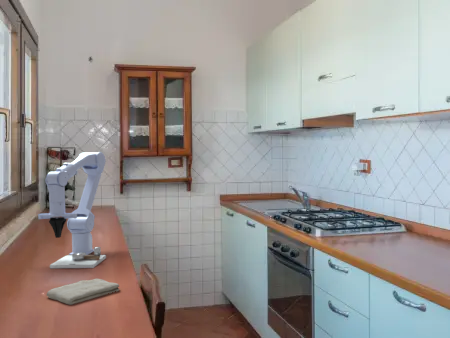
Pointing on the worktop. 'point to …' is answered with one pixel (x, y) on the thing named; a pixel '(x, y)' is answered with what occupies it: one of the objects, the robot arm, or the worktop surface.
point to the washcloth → (82, 291)
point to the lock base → (76, 262)
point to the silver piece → (83, 255)
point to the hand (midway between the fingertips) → (58, 237)
